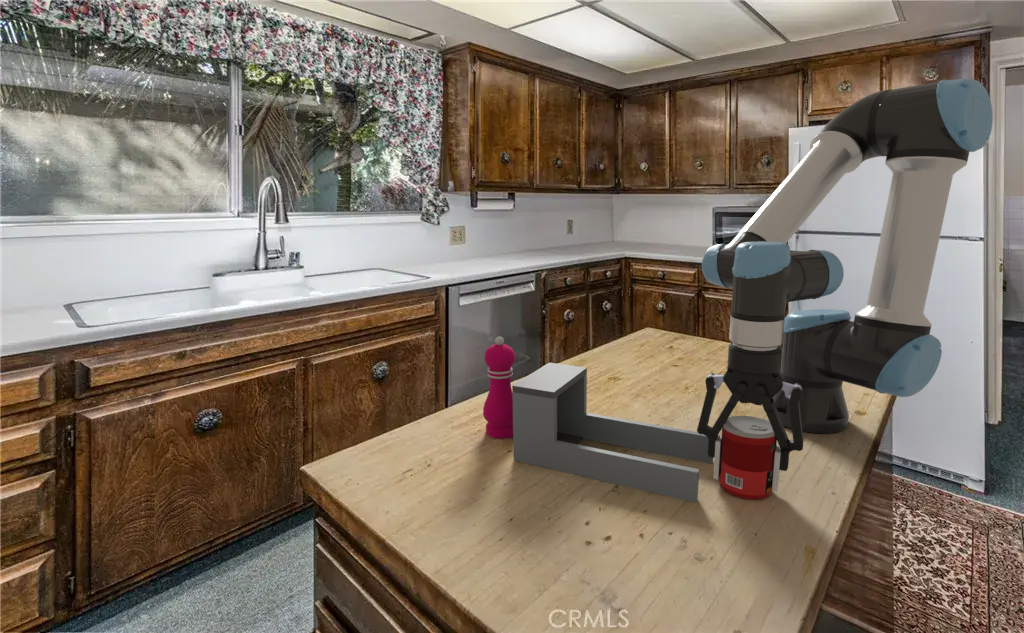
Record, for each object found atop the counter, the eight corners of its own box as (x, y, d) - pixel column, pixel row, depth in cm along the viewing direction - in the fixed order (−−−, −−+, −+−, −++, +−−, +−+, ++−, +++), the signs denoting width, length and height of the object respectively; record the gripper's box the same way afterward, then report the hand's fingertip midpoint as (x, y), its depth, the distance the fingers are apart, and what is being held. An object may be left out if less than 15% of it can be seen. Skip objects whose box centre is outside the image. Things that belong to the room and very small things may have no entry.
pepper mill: (493, 443, 110) (490, 343, 105) (477, 429, 116) (474, 335, 112) (525, 435, 113) (524, 338, 109) (509, 422, 119) (507, 330, 115)
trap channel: (713, 461, 101) (717, 385, 98) (696, 502, 87) (701, 416, 84) (549, 429, 116) (549, 362, 113) (513, 460, 102) (512, 385, 99)
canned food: (778, 502, 87) (784, 435, 85) (724, 499, 88) (728, 433, 86) (764, 478, 94) (769, 416, 92) (714, 475, 96) (718, 414, 93)
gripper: (833, 345, 84) (819, 485, 89) (690, 332, 94) (684, 458, 99) (834, 358, 78) (818, 508, 83) (680, 343, 88) (674, 477, 92)
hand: (745, 481), depth 91 cm, fingers closed on canned food, 8 cm apart
